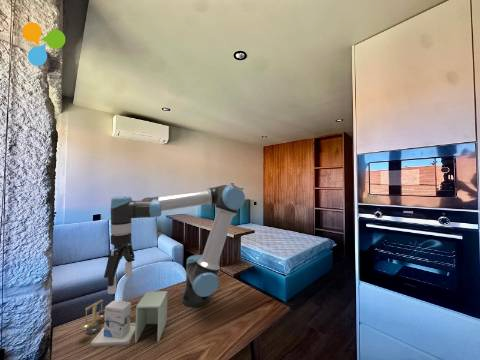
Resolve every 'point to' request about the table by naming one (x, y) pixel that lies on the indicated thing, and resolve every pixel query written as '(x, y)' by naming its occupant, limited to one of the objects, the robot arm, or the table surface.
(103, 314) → the balance
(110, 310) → the ink box
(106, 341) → the dish
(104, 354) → the table surface
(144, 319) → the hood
